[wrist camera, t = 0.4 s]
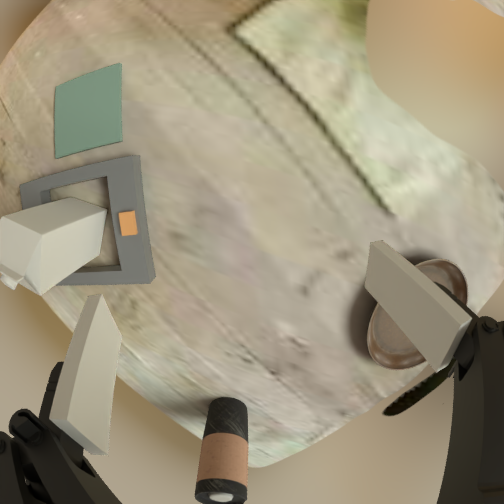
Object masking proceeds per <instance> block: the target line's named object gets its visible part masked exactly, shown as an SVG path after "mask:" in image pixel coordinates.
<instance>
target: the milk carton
mask: <svg viewBox="0 0 504 504" xmlns="http://www.w3.org/2000/svg"><path fill="white" fill-rule="evenodd" d="M106 214H107V209H105V208H102V207H99V206H96V205H93V204H91V203H88V202H85V201H82V200H79V199H76V198H73V197H69V198H65V199H61V200H58V201H54V202H50V203H46V204H42V205H39V206H35V207H32V208H28V209H25V210H22V211H18V212H15V213H12V214H9V215H5V216H2V218H1V220H0V273H2V276H1V278H0V280H1V281H2V282H3V283H4V284H5V285H6V286H8V287H9V288H11V289H13V290H15V288H16V286H17V284H18V283H19V284H21V285H23V286H24V287H26V288H28V289H29V290H31V291H33V292H35V293H36V294H38V295H40V296H41V295H42V294H44V293H45V292H46V291H48V290H49V289H50V288H52V287H53V286H55V285H56V284H57V283H59V282H60V281H62V280H63V279H64V278H66V277H67V276H69V275H70V274H72V273H73V272H74V271H76V270H77V269H79V268H80V267H82V266H83V265H85V264H86V263H88V262H89V261H91V260H92V259H94V258H95V257H97V256H98V255H100V249H101V242H102V236H103V230H104V225H105V219H106Z"/></svg>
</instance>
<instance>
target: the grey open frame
mask: <svg viewBox="0 0 504 504" xmlns="http://www.w3.org/2000/svg"><path fill="white" fill-rule="evenodd" d="M102 177H107V180H108V189H109V198H110V206H111V213H112V220H113V226H114V233H115V238H116V244H117V250H118V255H119V260H120V265H116V266H98V267H80V268H79V269H77V270H76V271H74V272H73V273H72V274H70V275H69V276H67V277H66V278H64V279H63V280H62V281H60V282H59V283H57V284H56V285H116V284H150V283H151V282H152V281H153V279H154V278H155V277H156V275H155V270H154V264H153V258H152V253H151V246H150V240H149V233H148V227H147V219H146V212H145V204H144V195H143V186H142V176H141V164H140V156H133V155H132V156H127V157H122V158H117V159H112V160H108V161H103V162H99V163H94V164H90V165H86V166H82V167H78V168H74V169H71V170H67V171H63V172H60V173H56V174H53V175H49V176H46V177H43V178H39V179H36V180H33V181H30V182H27V183H24V184H21V185H20V194H21V202H22V210H25V209H28V208H32V207H35V206H39V205H42V204H46V203H50V202H51V198H50V189H54V188H58V187H62V186H66V185H70V184H75V183H79V182H83V181H88V180H93V179H97V178H102Z"/></svg>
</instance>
